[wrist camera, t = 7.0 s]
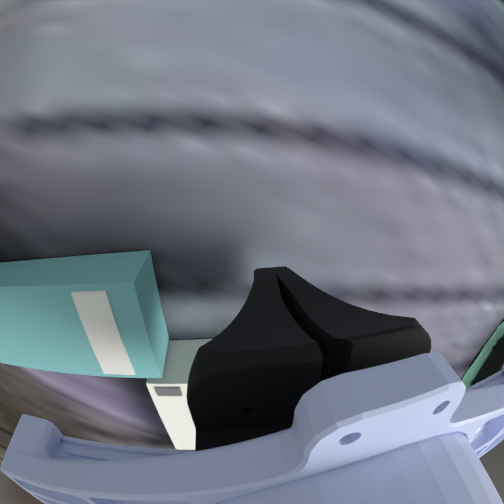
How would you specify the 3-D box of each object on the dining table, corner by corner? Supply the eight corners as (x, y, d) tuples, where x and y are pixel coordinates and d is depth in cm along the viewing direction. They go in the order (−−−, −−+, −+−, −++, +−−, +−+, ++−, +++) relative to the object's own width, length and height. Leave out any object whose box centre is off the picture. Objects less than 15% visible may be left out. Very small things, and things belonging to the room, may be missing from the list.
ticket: (337, 430, 21) (348, 460, 18) (193, 446, 20) (192, 479, 17) (368, 320, 16) (393, 357, 13) (155, 340, 15) (145, 385, 12)
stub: (169, 338, 15) (161, 379, 12) (6, 332, 14) (-14, 360, 11) (150, 250, 13) (132, 283, 10) (-22, 264, 12) (-50, 288, 9)
